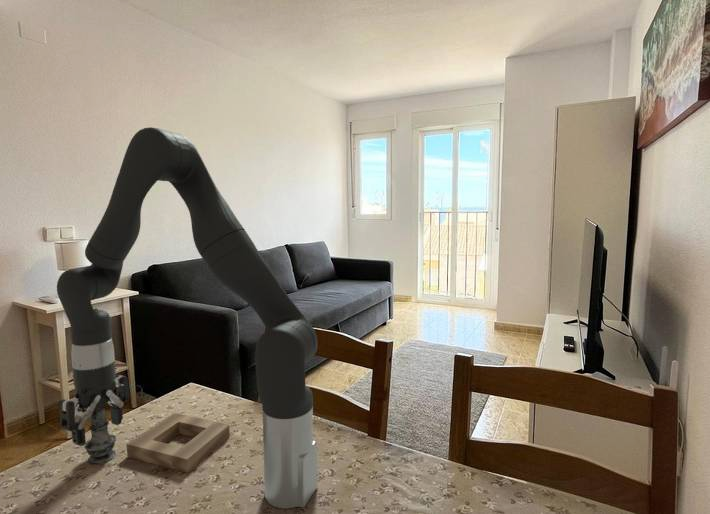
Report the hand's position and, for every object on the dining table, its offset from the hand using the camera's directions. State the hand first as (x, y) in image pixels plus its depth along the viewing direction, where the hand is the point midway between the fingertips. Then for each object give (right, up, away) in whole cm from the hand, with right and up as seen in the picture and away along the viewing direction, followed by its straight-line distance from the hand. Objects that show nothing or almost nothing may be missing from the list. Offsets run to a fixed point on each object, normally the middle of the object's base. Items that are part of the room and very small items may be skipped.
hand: (99, 433), depth 89 cm
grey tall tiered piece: (0, -6, +1) cm, 6 cm away
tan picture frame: (+15, -5, +5) cm, 17 cm away
